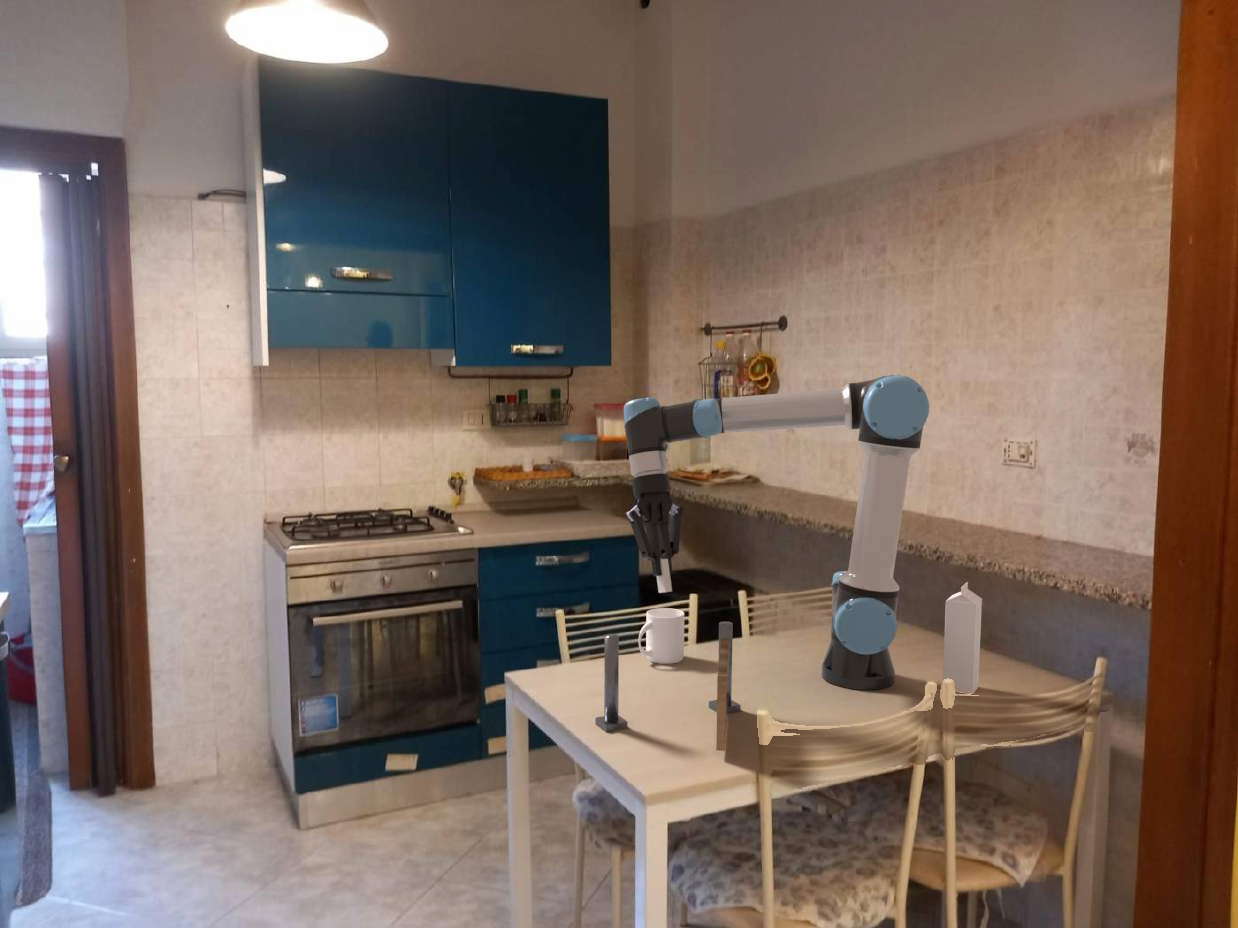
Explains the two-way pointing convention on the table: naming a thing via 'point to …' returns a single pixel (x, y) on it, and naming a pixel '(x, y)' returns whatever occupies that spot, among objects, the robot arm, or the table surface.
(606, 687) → the gate frame
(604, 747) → the table surface
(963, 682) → the milk
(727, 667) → the gate
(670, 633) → the mug
